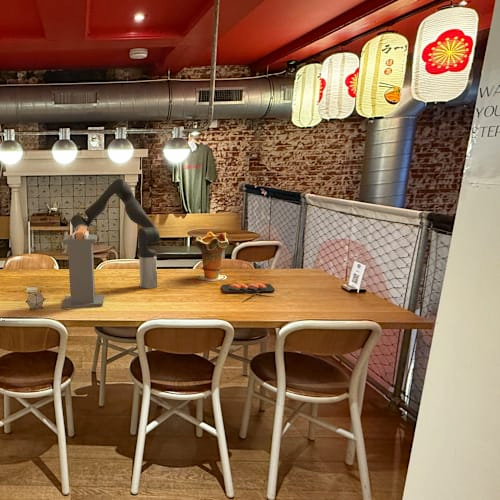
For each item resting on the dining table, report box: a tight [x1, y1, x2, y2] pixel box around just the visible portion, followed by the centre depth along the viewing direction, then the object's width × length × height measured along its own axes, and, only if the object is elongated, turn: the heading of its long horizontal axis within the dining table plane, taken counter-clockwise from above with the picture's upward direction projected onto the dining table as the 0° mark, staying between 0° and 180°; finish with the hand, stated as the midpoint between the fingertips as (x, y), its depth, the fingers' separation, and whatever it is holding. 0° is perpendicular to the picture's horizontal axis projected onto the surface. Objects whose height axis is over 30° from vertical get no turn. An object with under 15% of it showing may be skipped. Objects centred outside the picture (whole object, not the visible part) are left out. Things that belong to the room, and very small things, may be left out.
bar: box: [76, 226, 87, 239], centre depth 201 cm, size 22×3×3 cm, turn 17°
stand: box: [60, 231, 105, 310], centre depth 198 cm, size 18×17×34 cm
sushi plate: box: [220, 282, 275, 303], centre depth 223 cm, size 29×30×4 cm
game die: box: [25, 290, 47, 311], centre depth 190 cm, size 9×8×10 cm
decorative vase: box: [195, 231, 230, 282], centre depth 252 cm, size 21×23×28 cm
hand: (85, 243), depth 219 cm, fingers open, 8 cm apart
